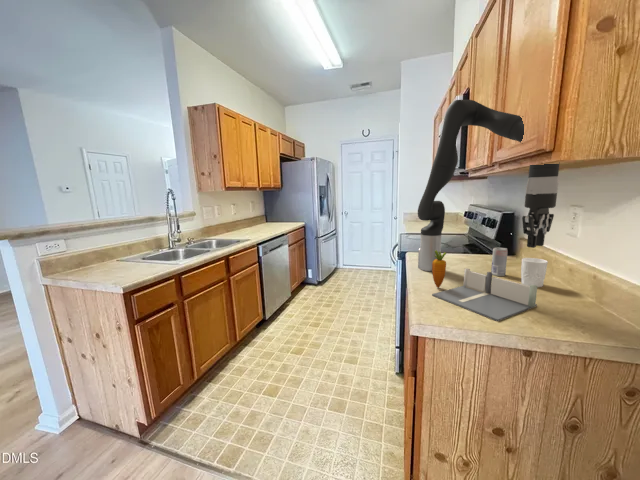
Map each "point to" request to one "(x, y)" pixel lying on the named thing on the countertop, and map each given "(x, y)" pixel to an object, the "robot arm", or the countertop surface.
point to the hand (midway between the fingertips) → (535, 246)
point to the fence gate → (514, 291)
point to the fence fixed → (478, 280)
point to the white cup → (533, 271)
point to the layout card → (482, 302)
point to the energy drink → (499, 261)
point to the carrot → (438, 269)
